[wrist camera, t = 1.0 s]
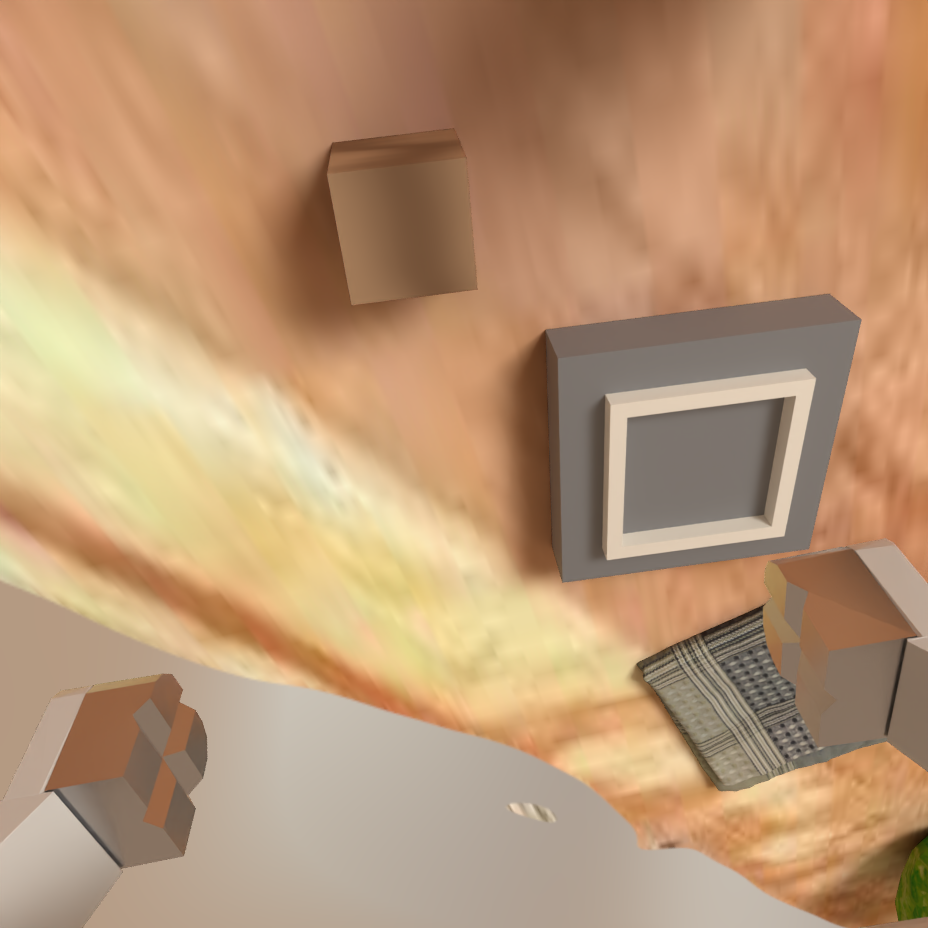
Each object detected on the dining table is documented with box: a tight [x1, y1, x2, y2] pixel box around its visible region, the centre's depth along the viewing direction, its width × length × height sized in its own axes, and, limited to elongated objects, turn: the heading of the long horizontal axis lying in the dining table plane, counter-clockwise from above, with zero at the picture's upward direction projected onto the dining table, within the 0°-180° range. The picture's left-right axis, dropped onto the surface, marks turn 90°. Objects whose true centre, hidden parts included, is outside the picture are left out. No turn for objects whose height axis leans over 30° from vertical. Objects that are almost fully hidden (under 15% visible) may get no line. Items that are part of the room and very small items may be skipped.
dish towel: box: [637, 605, 887, 791], centre depth 54 cm, size 19×18×3 cm
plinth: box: [546, 294, 861, 583], centre depth 39 cm, size 14×14×4 cm
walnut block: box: [327, 128, 478, 305], centre depth 31 cm, size 5×5×5 cm
